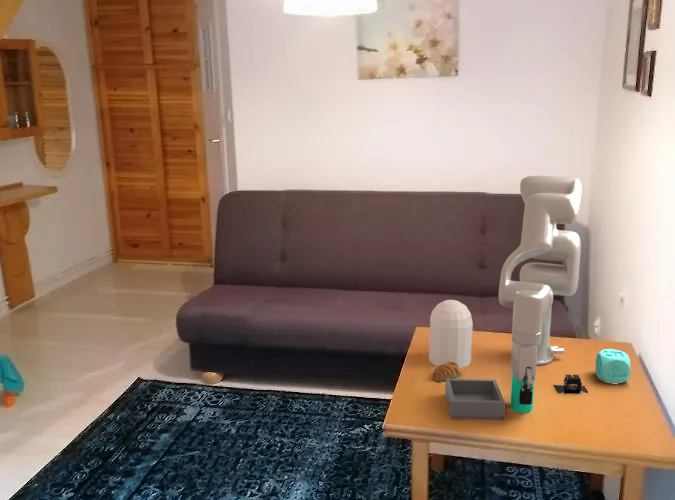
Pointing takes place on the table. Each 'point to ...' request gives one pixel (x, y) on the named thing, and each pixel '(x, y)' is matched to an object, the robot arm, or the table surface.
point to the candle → (516, 394)
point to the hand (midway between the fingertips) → (522, 396)
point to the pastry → (447, 372)
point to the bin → (474, 399)
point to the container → (450, 334)
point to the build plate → (571, 385)
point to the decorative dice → (612, 366)
